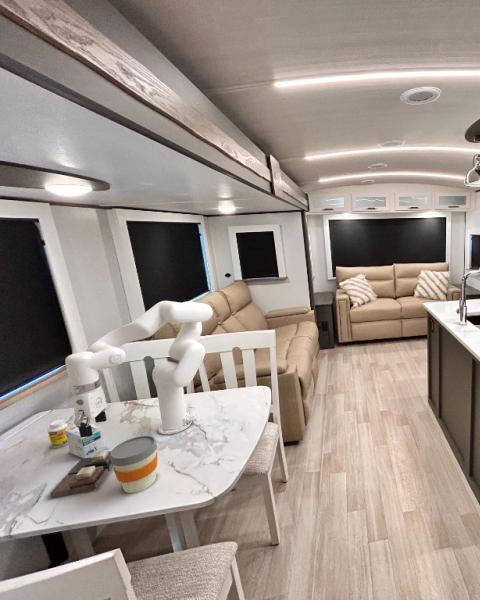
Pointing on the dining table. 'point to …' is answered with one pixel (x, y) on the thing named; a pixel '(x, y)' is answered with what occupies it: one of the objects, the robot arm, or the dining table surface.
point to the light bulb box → (85, 441)
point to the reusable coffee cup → (135, 463)
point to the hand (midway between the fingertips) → (94, 428)
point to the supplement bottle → (57, 433)
